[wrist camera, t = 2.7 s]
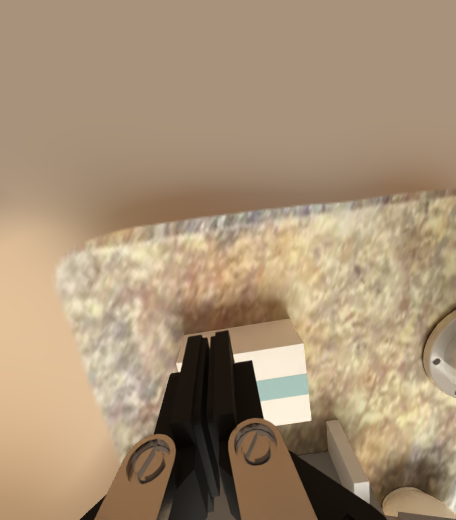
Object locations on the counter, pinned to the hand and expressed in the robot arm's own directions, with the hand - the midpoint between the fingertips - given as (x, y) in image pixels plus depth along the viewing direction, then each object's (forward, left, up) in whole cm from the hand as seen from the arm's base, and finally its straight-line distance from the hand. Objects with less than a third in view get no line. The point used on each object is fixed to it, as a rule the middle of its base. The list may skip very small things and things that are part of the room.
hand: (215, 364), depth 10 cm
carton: (0, +12, -16) cm, 20 cm away
